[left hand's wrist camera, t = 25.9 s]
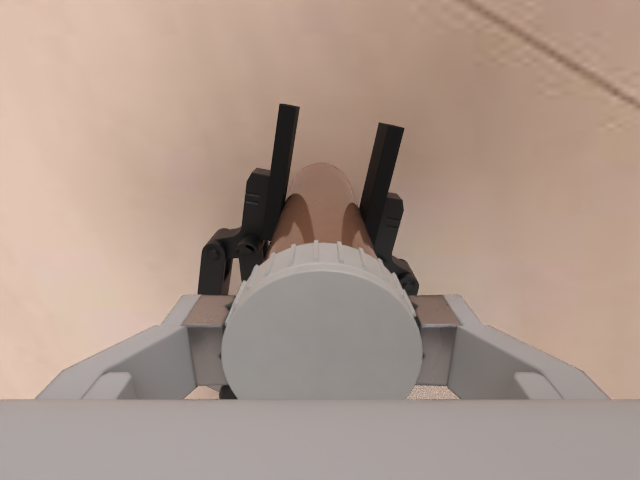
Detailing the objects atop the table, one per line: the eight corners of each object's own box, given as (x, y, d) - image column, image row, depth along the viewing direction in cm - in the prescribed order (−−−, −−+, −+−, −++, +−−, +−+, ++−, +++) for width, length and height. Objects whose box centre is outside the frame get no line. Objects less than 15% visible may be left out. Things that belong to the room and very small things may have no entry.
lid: (288, 203, 9) (281, 225, 7) (444, 294, 10) (470, 332, 8) (205, 344, 10) (183, 388, 9) (347, 412, 11) (352, 464, 10)
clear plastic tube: (304, 153, 24) (274, 238, 8) (360, 177, 25) (432, 301, 9) (281, 208, 25) (219, 372, 10) (335, 230, 26) (360, 419, 10)
